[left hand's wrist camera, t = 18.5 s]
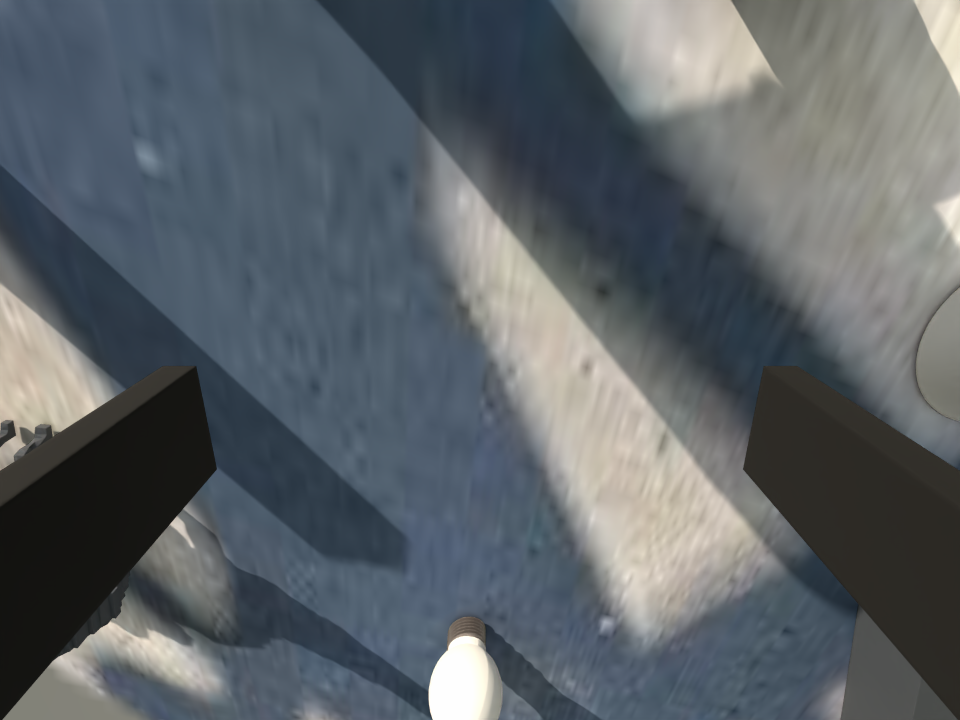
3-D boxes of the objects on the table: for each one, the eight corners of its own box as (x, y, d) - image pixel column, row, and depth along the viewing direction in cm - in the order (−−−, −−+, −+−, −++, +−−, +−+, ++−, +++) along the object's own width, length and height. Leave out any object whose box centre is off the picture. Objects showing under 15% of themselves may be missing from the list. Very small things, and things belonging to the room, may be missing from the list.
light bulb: (460, 595, 53) (456, 700, 43) (513, 626, 55) (521, 735, 44) (421, 636, 55) (408, 745, 45) (473, 665, 56) (472, 777, 46)
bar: (859, 594, 53) (923, 667, 46) (912, 589, 53) (985, 662, 45) (834, 760, 62) (884, 844, 54) (879, 756, 62) (937, 841, 54)
